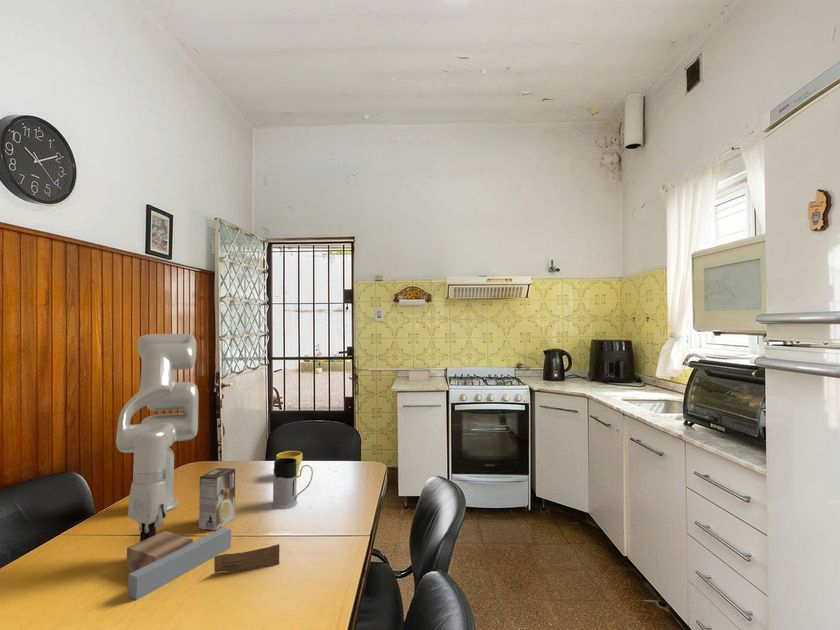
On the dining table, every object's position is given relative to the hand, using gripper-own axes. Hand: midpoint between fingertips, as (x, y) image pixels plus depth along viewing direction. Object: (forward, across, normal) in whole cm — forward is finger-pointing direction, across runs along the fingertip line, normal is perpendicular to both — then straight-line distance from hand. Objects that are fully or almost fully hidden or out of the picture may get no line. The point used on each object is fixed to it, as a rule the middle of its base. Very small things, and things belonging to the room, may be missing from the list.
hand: (147, 544), depth 114 cm
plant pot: (+4, -10, +65) cm, 66 cm away
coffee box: (+4, 0, +22) cm, 22 cm away
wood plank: (+3, +29, +7) cm, 30 cm away
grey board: (+3, +15, 0) cm, 15 cm away
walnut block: (+3, +8, -2) cm, 8 cm away
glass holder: (+4, +10, +44) cm, 46 cm away
